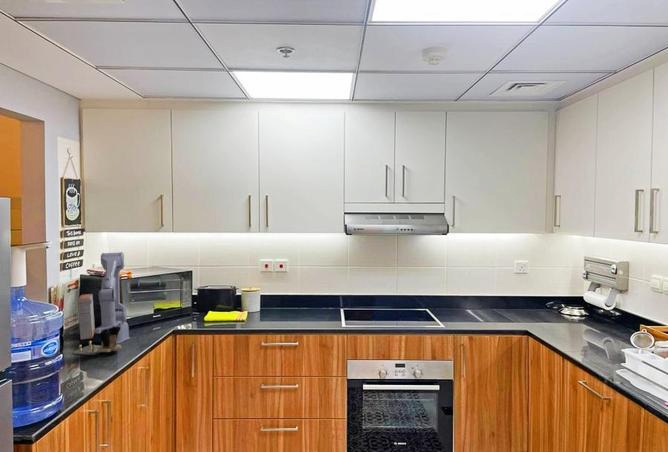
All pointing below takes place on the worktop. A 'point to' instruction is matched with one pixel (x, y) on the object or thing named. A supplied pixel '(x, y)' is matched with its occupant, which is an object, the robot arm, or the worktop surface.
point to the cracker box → (86, 316)
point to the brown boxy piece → (110, 345)
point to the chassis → (88, 349)
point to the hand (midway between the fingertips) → (109, 344)
